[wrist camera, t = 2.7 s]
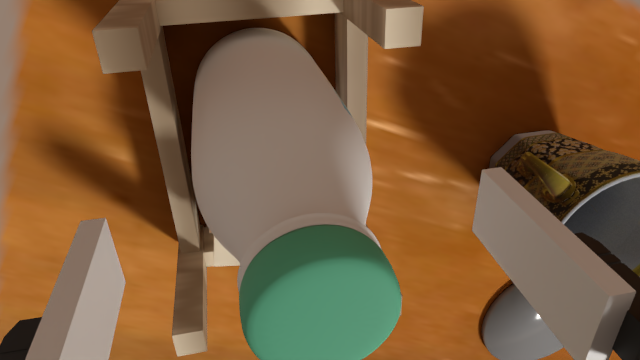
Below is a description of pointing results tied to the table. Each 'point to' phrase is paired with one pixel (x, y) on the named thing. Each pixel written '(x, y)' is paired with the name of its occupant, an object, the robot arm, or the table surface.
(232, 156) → the milk bottle
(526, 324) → the grey round disc
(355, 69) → the rack
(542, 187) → the ceramic cup
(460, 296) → the table surface
